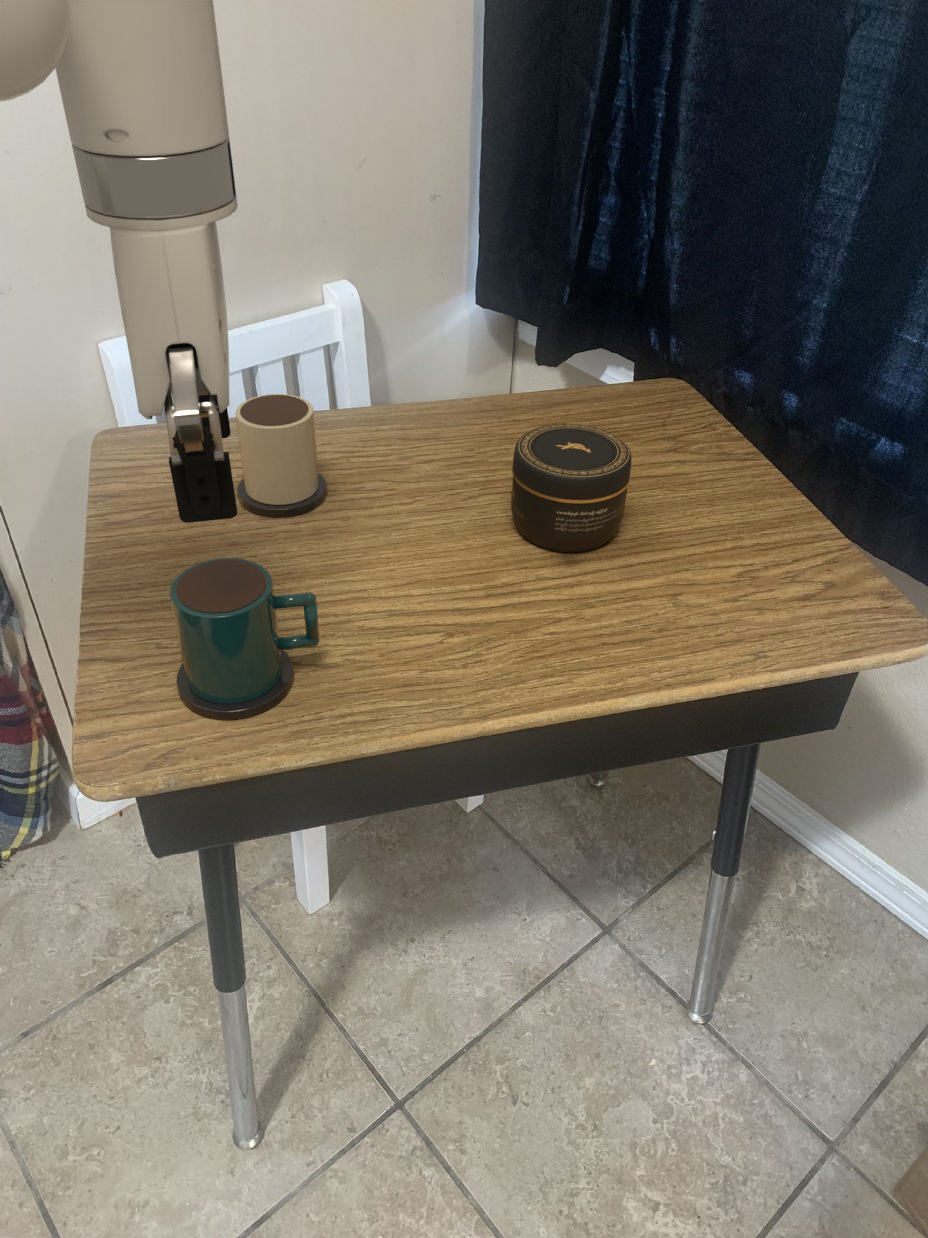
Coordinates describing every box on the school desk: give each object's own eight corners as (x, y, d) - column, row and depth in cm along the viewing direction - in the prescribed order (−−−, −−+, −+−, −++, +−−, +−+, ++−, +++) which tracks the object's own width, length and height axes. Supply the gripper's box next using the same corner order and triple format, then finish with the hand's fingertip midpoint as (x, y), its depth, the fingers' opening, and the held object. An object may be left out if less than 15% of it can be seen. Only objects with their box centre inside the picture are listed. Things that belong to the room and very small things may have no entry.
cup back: (322, 501, 87) (316, 424, 82) (246, 508, 86) (236, 430, 81) (312, 451, 94) (306, 377, 89) (242, 456, 93) (233, 382, 88)
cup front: (186, 710, 66) (168, 621, 61) (186, 647, 71) (170, 561, 66) (326, 692, 67) (319, 605, 63) (316, 633, 72) (309, 548, 68)
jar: (498, 499, 89) (503, 423, 85) (604, 492, 91) (614, 417, 86) (521, 561, 82) (527, 482, 77) (636, 553, 83) (649, 474, 78)
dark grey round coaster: (239, 521, 85) (238, 513, 85) (236, 475, 91) (235, 468, 91) (331, 513, 87) (330, 505, 86) (322, 468, 93) (321, 461, 92)
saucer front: (177, 727, 65) (175, 718, 65) (178, 651, 71) (176, 643, 71) (297, 712, 67) (297, 703, 66) (289, 639, 73) (288, 630, 72)
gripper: (92, 140, 55) (147, 416, 66) (64, 236, 42) (139, 562, 53) (227, 135, 56) (260, 407, 67) (242, 227, 43) (280, 547, 54)
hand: (207, 475), depth 60 cm, fingers open, 9 cm apart
